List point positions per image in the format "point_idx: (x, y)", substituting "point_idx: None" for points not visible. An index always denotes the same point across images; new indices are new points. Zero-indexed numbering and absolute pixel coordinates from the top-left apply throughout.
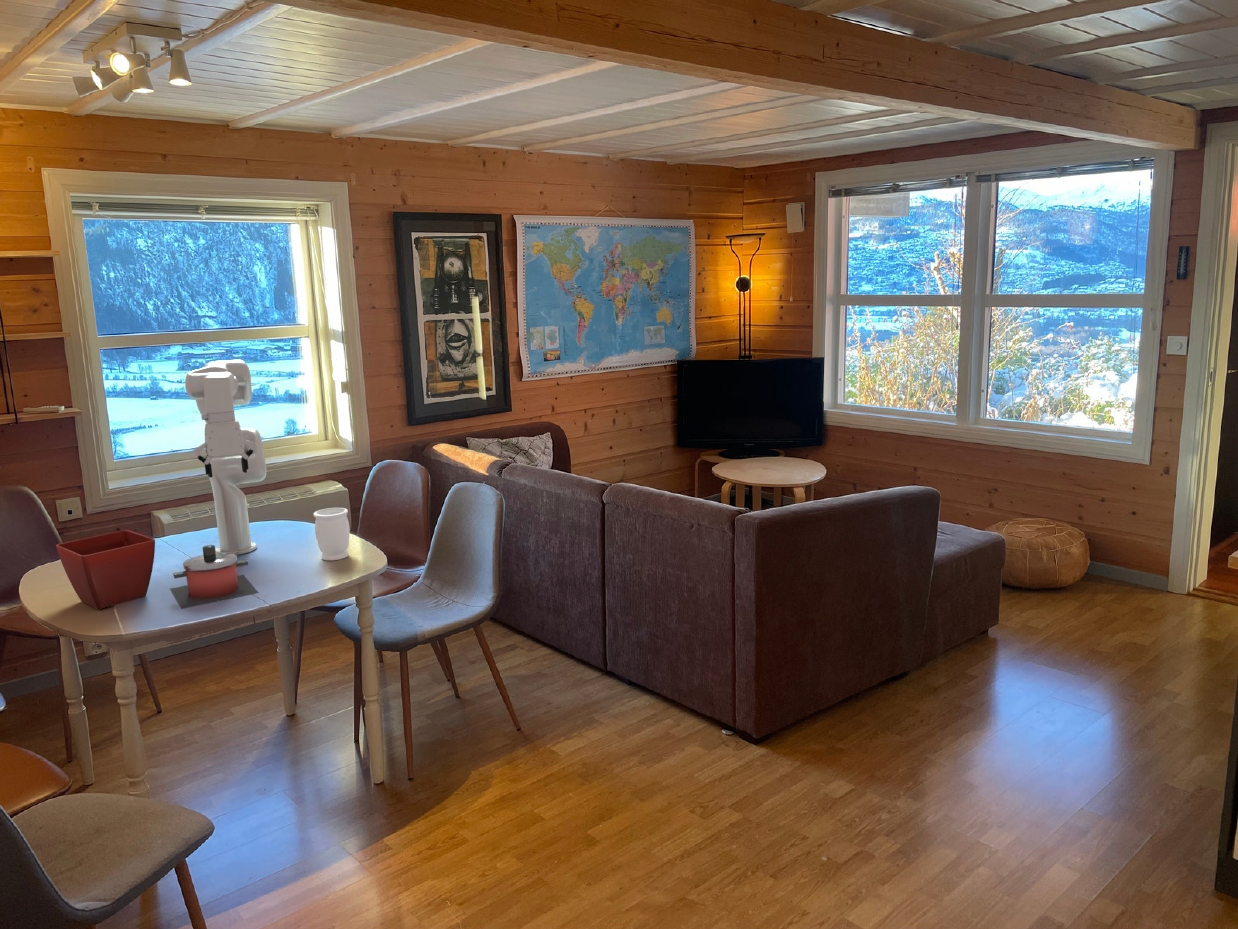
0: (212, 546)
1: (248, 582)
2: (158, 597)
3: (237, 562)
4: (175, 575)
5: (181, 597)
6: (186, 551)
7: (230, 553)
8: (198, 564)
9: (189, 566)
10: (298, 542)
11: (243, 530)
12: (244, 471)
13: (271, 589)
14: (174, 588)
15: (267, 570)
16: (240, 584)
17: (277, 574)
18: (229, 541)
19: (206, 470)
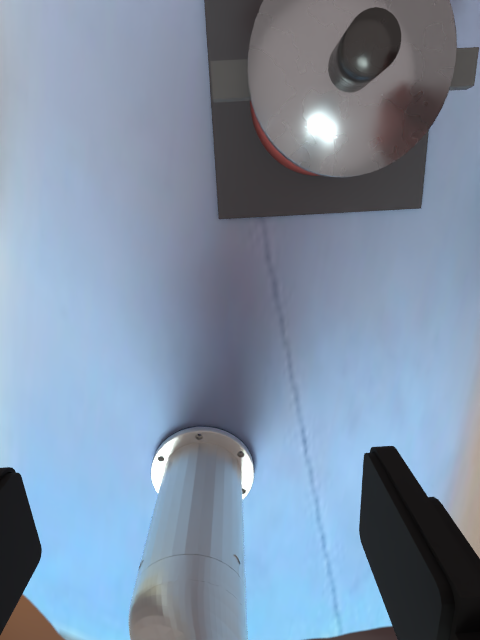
0: (357, 32)
1: (216, 119)
2: (458, 161)
3: (246, 75)
4: (474, 48)
5: None
6: (310, 521)
7: (264, 125)
8: (405, 24)
9: (442, 15)
10: (44, 452)
11: (173, 485)
12: (9, 477)
13: (158, 12)
14: (410, 201)
15: (148, 238)
16: (241, 114)
17: (125, 176)
18: (219, 464)
19: (459, 531)
